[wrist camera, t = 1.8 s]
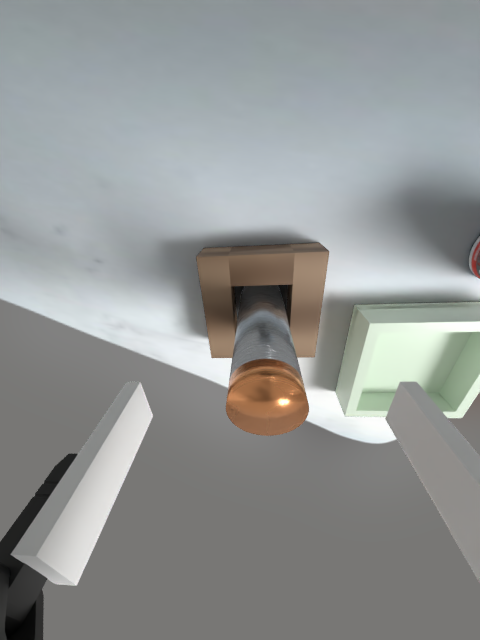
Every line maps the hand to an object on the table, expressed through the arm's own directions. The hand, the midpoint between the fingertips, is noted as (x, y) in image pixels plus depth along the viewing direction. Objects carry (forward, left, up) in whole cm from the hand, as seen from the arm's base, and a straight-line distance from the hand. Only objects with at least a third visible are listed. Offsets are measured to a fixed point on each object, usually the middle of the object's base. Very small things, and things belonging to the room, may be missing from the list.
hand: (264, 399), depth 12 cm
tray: (+7, +15, -12) cm, 20 cm away
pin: (0, 0, -12) cm, 12 cm away
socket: (0, 0, -12) cm, 12 cm away
